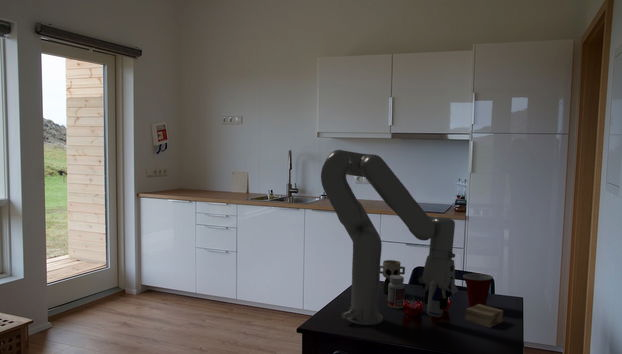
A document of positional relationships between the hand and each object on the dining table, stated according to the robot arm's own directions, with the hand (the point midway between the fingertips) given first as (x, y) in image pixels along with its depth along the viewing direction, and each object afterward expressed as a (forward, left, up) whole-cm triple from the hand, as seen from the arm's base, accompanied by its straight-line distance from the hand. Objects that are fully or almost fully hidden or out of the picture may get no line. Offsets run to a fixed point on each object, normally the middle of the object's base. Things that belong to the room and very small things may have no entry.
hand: (435, 305), depth 163 cm
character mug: (+15, +31, -6) cm, 35 cm away
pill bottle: (+3, +19, -6) cm, 20 cm away
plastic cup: (+28, 0, -6) cm, 29 cm away
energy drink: (0, 0, -3) cm, 3 cm away
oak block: (+15, -10, -6) cm, 19 cm away
